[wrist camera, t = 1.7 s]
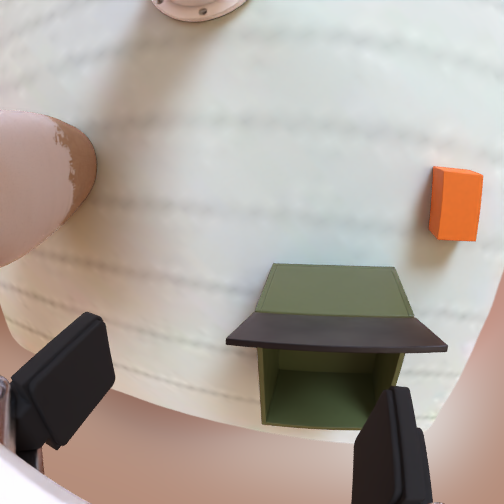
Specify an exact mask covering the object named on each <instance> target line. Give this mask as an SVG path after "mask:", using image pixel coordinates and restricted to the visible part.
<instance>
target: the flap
mask: <svg viewBox="0 0 504 504" xmlns="http://www.w3.org/2000/svg"><path fill="white" fill-rule="evenodd" d="M226 345H235V346H245V347H255V348H267V349H280V350H295V351H312V352H336V353H431V352H447V348H448V345H447V344H446V343H444V342H443V341H442V340H441V339H440V338H439V337H438V336H436V335H435V334H434V333H433V332H432V331H431V330H430V329H428V328H427V327H426V326H425V325H424V324H423V323H421V322H420V321H419V320H418V319H417V318H378V317H337V316H311V315H291V314H273V313H258V312H254V313H252V314H251V315H250V316H249V317H248V318H247V319H246V320H245V321H244V322H243V323H242V324H241V325H240V326H239V327H238V328H237V329H236V330H235V331H233V332H232V333H231V334H230V335H229V336H228V337H227V338H226Z"/></svg>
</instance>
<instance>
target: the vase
mask: <svg viewBox="0 0 504 504" xmlns="http://www.w3.org/2000/svg"><path fill="white" fill-rule="evenodd" d="M96 172H97V161H96V155H95V151H94V148H93V146H92V144H91V142H90V140H89V139H88V137H87V136H86V135H85V134H84V133H82V132H81V131H80V130H78V129H77V128H75V127H73V126H71V125H69V124H67V123H65V122H63V121H61V120H58V119H56V118H53V117H50V116H46V115H42V114H37V113H32V112H25V111H16V110H0V268H1V267H3V266H6V265H8V264H10V263H12V262H14V261H16V260H18V259H20V258H21V257H23V256H24V255H26V254H27V253H29V252H30V251H31V250H33V249H34V248H35V247H37V246H38V245H39V244H40V243H42V242H43V241H44V240H45V239H46V238H48V237H49V236H50V235H51V234H52V233H54V232H55V231H56V230H57V229H58V228H59V227H60V226H61V225H63V224H64V223H65V222H66V221H67V220H68V219H69V217H70V216H71V215H72V214H73V213H74V212H75V210H76V209H77V208H78V207H79V206H80V204H81V203H82V202H83V201H84V199H85V198H86V197H87V195H88V194H89V192H90V190H91V189H92V187H93V184H94V182H95V178H96Z"/></svg>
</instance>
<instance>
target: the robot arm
mask: <svg viewBox="0 0 504 504" xmlns="http://www.w3.org/2000/svg"><path fill="white" fill-rule="evenodd" d="M245 1H247V0H152V2H153V3H154V5H155V6H156V8H158V9H159V10H160V11H161V12H162V13H164V14H166V15H167V16H169V17H172V18H174V19H177V20H181V21H187V22H199V21H205V20H211V19H214V18H217V17H220V16H223V15H225V14H227V13H229V12H231V11H233V10H234V9H236V8H238V7H239V6H241V5H242V4H243V3H244V2H245ZM206 12H207V13H206ZM204 13H206V14H205V15H204ZM11 379H12V382H11V383H9V381H8V380H7V379H6V378H5V377H3V376H0V504H91V503H89V502H87V501H85V500H83V499H82V498H80V497H78V496H77V495H75V494H73V493H72V492H70V491H68V490H67V489H65V488H63V487H62V486H60V485H59V484H57V483H56V482H54V481H52V480H51V479H49V478H48V477H47V476H45V475H44V466H43V455H42V446H43V444H44V443H45V442H46V444H48V445H49V446H51V447H52V448H54V449H55V450H58V449H59V448H60V446H64V445H66V444H67V443H68V441H69V440H70V439H71V437H72V436H73V435H74V433H75V432H76V431H77V430H78V428H79V427H80V426H81V425H82V423H83V422H84V421H85V419H86V418H87V417H88V416H89V414H90V413H91V412H92V411H93V409H94V408H95V407H96V406H97V404H98V403H99V402H100V400H101V399H102V398H103V397H104V396H105V394H106V393H107V392H108V390H109V389H110V388H111V387H112V386H113V384H114V382H115V373H114V368H113V363H112V358H111V353H110V348H109V342H108V337H107V331H106V325H105V323H104V322H103V320H102V318H101V317H100V316H97V315H95V314H92V313H89V312H85V313H83V314H82V315H81V316H80V317H78V318H77V319H76V320H75V321H74V322H72V323H71V324H70V325H69V326H68V327H67V328H65V329H64V330H63V331H62V332H61V333H60V334H59V335H57V336H56V337H55V338H54V339H53V340H52V341H50V342H49V343H48V344H47V345H46V346H45V347H44V348H43V349H41V350H40V351H39V352H38V353H37V354H36V355H35V356H34V357H32V358H31V359H30V360H29V361H28V362H27V363H26V364H25V365H24V366H22V367H21V368H20V369H19V370H18V371H17V372H16V373H15V374H14V375H13V376H12V377H11ZM353 461H354V462H353V485H352V502H351V504H444V503H440V502H434V503H433V499H432V490H431V482H430V473H429V466H428V459H427V452H426V446H425V441H424V435H423V431H422V430H421V429H420V428H417V426H416V420H415V415H414V410H413V404H412V399H411V394H410V390H409V388H408V387H399V386H390V387H389V389H388V390H383V392H382V393H381V395H380V397H379V399H378V401H377V403H376V405H375V407H374V408H373V410H372V412H371V414H370V416H369V417H368V419H367V421H366V423H365V424H364V426H363V428H362V429H361V431H360V433H359V434H358V436H357V438H356V440H355V443H354V460H353Z"/></svg>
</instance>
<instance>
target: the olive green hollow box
mask: <svg viewBox="0 0 504 504" xmlns="http://www.w3.org/2000/svg"><path fill="white" fill-rule="evenodd" d="M255 312H258V313H273V314H291V315H311V316H337V317H378V318H414V314H413V311H412V309H411V306H410V304H409V301H408V299H407V296H406V294H405V291H404V289H403V286H402V284H401V281H400V279H399V277H398V274H397V272H396V270H395V267H370V266H336V265H304V264H275V263H274V264H273V266H272V268H271V271H270V274H269V276H268V279H267V281H266V284H265V286H264V289H263V291H262V294H261V297H260V299H259V302H258V304H257V307H256V309H255ZM257 354H258V371H259V387H260V404H261V421H262V424H263V425H272V426H282V427H294V428H308V429H326V430H361V429H362V428H363V426H364V424H365V423H366V421H367V419H368V417H369V416H370V414H371V412H372V410H373V408H374V407H375V405H376V403H377V401H378V399H379V397H380V395H381V393H382V392H383V390H388V389H389V387H390V386H396V383H397V380H398V377H399V373H400V370H401V366H402V363H403V359H404V356H405V353H336V352H312V351H295V350H280V349H267V348H257Z"/></svg>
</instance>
